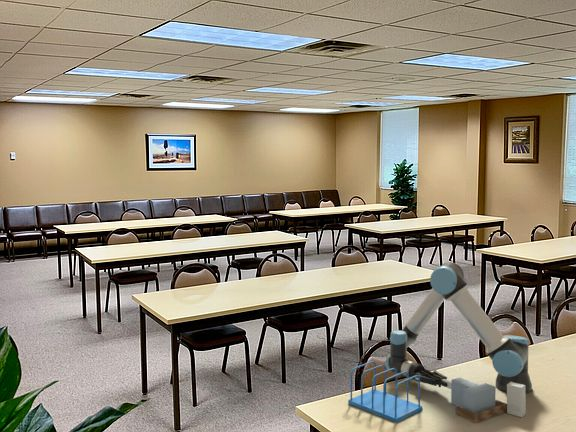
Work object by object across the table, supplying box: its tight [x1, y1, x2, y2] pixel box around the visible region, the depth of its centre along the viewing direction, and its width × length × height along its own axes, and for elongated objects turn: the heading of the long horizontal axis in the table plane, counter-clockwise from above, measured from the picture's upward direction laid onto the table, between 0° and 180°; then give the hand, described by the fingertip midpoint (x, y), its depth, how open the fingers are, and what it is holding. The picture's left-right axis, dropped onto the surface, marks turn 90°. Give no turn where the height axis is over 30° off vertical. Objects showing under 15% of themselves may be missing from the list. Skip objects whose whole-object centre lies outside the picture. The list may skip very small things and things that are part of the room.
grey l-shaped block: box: [450, 377, 497, 414], centre depth 237 cm, size 13×15×10 cm
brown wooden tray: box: [455, 399, 507, 424], centre depth 232 cm, size 19×10×3 cm, turn 124°
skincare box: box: [506, 382, 527, 418], centre depth 230 cm, size 6×4×12 cm
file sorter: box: [347, 361, 423, 423], centre depth 238 cm, size 25×17×15 cm
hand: (454, 386), depth 243 cm, fingers closed
